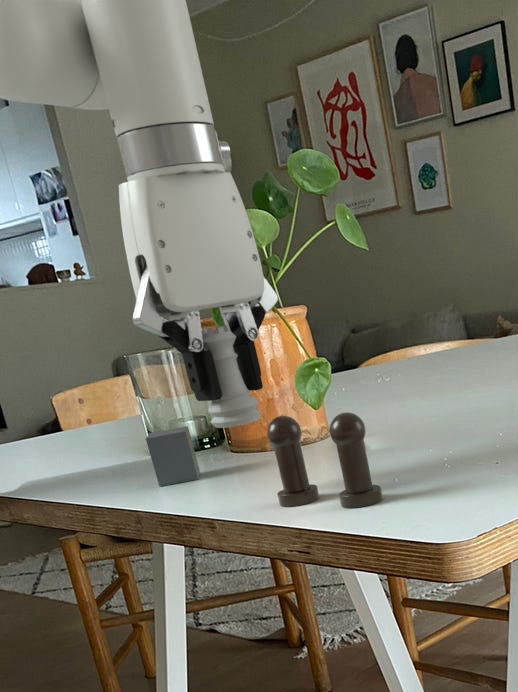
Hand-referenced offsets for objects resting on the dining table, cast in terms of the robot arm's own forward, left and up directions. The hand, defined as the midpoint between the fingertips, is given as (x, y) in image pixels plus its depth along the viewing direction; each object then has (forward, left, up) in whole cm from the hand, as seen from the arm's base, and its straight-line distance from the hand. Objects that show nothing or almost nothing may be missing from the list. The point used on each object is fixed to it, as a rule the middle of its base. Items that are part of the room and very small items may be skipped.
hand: (229, 392), depth 80 cm
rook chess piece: (0, 0, -3) cm, 3 cm away
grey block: (-12, +14, -9) cm, 21 cm away
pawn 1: (+5, -4, -9) cm, 11 cm away
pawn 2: (+11, -8, -9) cm, 16 cm away
